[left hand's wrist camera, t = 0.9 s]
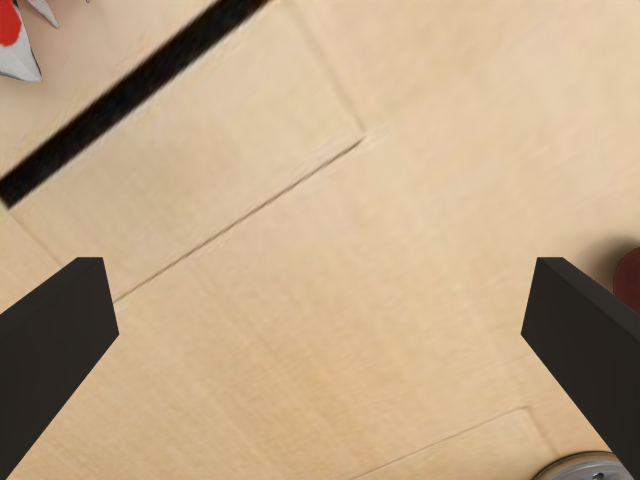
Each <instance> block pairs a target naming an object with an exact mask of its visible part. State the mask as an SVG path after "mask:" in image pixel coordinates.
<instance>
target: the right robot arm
mask: <svg viewBox="0 0 640 480" xmlns="http://www.w3.org/2000/svg"><path fill="white" fill-rule="evenodd" d="M533 480H634V479H633V477H632V476H631V475H630V474H629V472H628V471H627V470H626V468H625V467H624V466H623V465H622V463H621V462H620V461H619V459H618V458H617V457H616V456H615V454H613V453H606V452H590V453H583V454H578V455H574V456H570V457H567V458H564V459H562V460H560V461H558V462H556V463H554V464H552V465H550V466H549V467H547V468H546V469H544V470H543V471H542V472H541V473H539V474H538V475H537V476H536V477H535V478H534V479H533Z"/></svg>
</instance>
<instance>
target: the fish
mask: <svg viewBox="0 0 640 480" xmlns="http://www.w3.org/2000/svg"><path fill="white" fill-rule="evenodd" d="M27 1H28V2H29V3H30V4H31V5H32V6H33V7H34V8H35V9H36V10H38V11H39V12H40V13H41V14H42V15H43V16H44V17H45V18H47V19H48V20H49V21H50V22H51V23H52V24H53V25H54V26H55V27H56V28H59V26H58V24H57V22H56V20H55V17H54V15H53V13H52V11H51V9H50V7H49V5H48V4H47V2H46V1H45V0H27ZM86 1H87V3H89V2H90V0H86ZM0 75H3V76H8V77H12V78H15V79H19V80H22V81H35V82H42V77H41V72H40V69H39V66H38V64H37V62H36V60H35V57H34V55H33V53H32V50H31V47H30V44H29V40H28V37H27V33H26V30H25V27H24V24H23V20H22V17H21V14H20V11H19V8H18V4H17V1H16V0H0Z"/></svg>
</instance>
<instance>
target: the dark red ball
mask: <svg viewBox="0 0 640 480" xmlns="http://www.w3.org/2000/svg"><path fill="white" fill-rule="evenodd" d="M613 293H614V295H615V296H616V297H617V298H618V299H620V300H621V301H622V302H624V303H625V304H626V305H628V306H629V307H630V308H632V309H633V310H634V311H636V312H637V313H638V314H640V247H639V248H636V249H634V250H633V251H631V252H630V253H628V254H627V255H626V256H625V257H624V258H623V259H622V260H621V262H620V263H619V265H618V267H617V269H616V272H615V274H614V282H613Z"/></svg>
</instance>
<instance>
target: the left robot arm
mask: <svg viewBox="0 0 640 480" xmlns="http://www.w3.org/2000/svg"><path fill="white" fill-rule="evenodd" d="M118 335H119V331H118V326H117V321H116V317H115V312H114V307H113V303H112V298H111V294H110V289H109V284H108V280H107V275H106V270H105V266H104V261H103V257H77V258H76V259H74V260H73V261H72V262H70V263H69V264H68V265H66V266H65V267H64V268H62V269H61V270H60V271H58V272H57V273H55V274H54V275H53V276H51V277H50V278H49V279H47V280H46V281H45V282H43V283H42V284H41V285H39V286H38V287H37V288H35V289H34V290H33V291H31V292H30V293H28V294H27V295H26V296H24V297H23V298H22V299H20V300H19V301H18V302H16V303H15V304H14V305H12V306H11V307H10V308H8V309H7V310H6V311H4V312H3V313H2V314H0V480H6V479H7V477H8V476H9V475H10V474H11V472H12V471H13V470H14V468H15V467H16V466H17V465H18V463H19V462H20V461H21V459H22V458H23V457H24V456H25V454H26V453H27V452H28V451H29V449H30V448H31V447H32V445H33V444H34V443H35V442H36V440H37V439H38V438H39V436H40V435H41V434H42V433H43V431H44V430H45V429H46V427H47V426H48V425H49V424H50V422H51V421H52V420H53V419H54V417H55V416H56V415H57V413H58V412H59V411H60V410H61V408H62V407H63V406H64V404H65V403H66V402H67V401H68V399H69V398H70V397H71V396H72V394H73V393H74V392H75V390H76V389H77V388H78V387H79V385H80V384H81V383H82V381H83V380H84V379H85V378H86V376H87V375H88V374H89V372H90V371H91V370H92V369H93V367H94V366H95V365H96V364H97V362H98V361H99V360H100V358H101V357H102V356H103V355H104V353H105V352H106V351H107V349H108V348H109V347H110V346H111V344H112V343H113V342H114V340H115V339H116V338H117V337H118ZM521 335H522V337H523V338H524V339H525V340H526V342H527V343H528V344H529V346H530V347H531V348H532V349H533V351H534V352H535V353H536V355H537V356H538V357H539V358H540V360H541V361H542V362H543V364H544V365H545V366H546V367H547V369H548V370H549V371H550V372H551V374H552V375H553V376H554V378H555V379H556V380H557V381H558V383H559V384H560V385H561V387H562V388H563V389H564V390H565V392H566V393H567V394H568V396H569V397H570V398H571V399H572V401H573V402H574V403H575V404H576V406H577V407H578V408H579V410H580V411H581V412H582V413H583V415H584V416H585V417H586V419H587V420H588V421H589V422H590V424H591V425H592V426H593V427H594V429H595V430H596V431H597V433H598V434H599V435H600V436H601V438H602V439H603V440H604V442H605V443H606V444H607V445H608V447H609V448H610V449H611V451H612V452H613V453H614V454H615V456H616V457H617V458H618V459H619V461H620V462H621V463H622V465H623V466H624V467H625V468H626V470H627V471H628V472H629V474H630V475H631V476H632V477H633V479H634V480H640V314H638V313H637V312H636V311H634V310H633V309H632V308H630V307H629V306H628V305H626V304H625V303H624V302H622V301H621V300H620V299H618V298H617V297H616V296H614V295H613V294H611V293H610V292H609V291H607V290H606V289H605V288H603V287H602V286H601V285H599V284H598V283H597V282H595V281H594V280H593V279H591V278H590V277H589V276H587V275H586V274H585V273H583V272H582V271H580V270H579V269H578V268H576V267H575V266H574V265H572V264H571V263H570V262H568V261H567V260H566V259H564V258H563V257H537V261H536V266H535V270H534V275H533V280H532V284H531V289H530V294H529V298H528V303H527V307H526V312H525V317H524V321H523V326H522V331H521Z"/></svg>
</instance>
